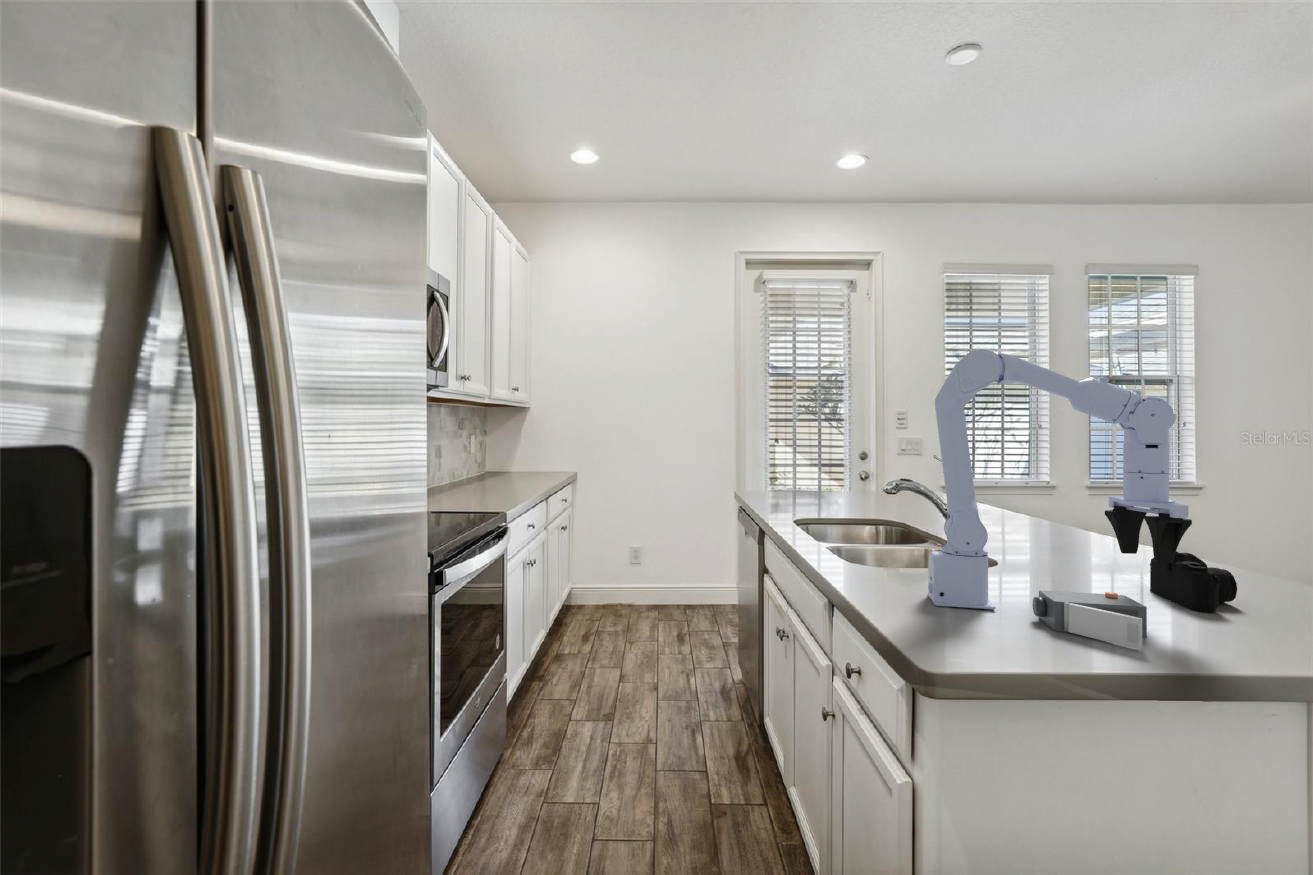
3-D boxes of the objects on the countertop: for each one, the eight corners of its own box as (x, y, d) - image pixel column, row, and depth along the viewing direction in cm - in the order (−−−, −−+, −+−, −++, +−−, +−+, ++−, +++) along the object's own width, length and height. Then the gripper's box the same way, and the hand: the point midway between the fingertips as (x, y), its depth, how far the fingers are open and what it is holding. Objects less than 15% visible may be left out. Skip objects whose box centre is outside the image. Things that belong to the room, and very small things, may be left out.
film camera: (1261, 617, 101) (1261, 562, 101) (1193, 613, 103) (1193, 560, 103) (1200, 594, 116) (1199, 546, 116) (1141, 591, 118) (1141, 544, 118)
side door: (1062, 630, 92) (1062, 602, 92) (1066, 629, 93) (1066, 601, 93) (1139, 650, 84) (1138, 619, 84) (1142, 648, 85) (1142, 618, 85)
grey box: (1046, 630, 94) (1045, 597, 94) (1030, 617, 100) (1030, 586, 100) (1147, 637, 90) (1147, 603, 90) (1124, 623, 97) (1123, 591, 97)
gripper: (1210, 475, 90) (1210, 567, 90) (1139, 470, 105) (1139, 549, 105) (1159, 475, 91) (1159, 567, 91) (1096, 470, 105) (1096, 549, 105)
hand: (1145, 557), depth 98 cm, fingers open, 7 cm apart
